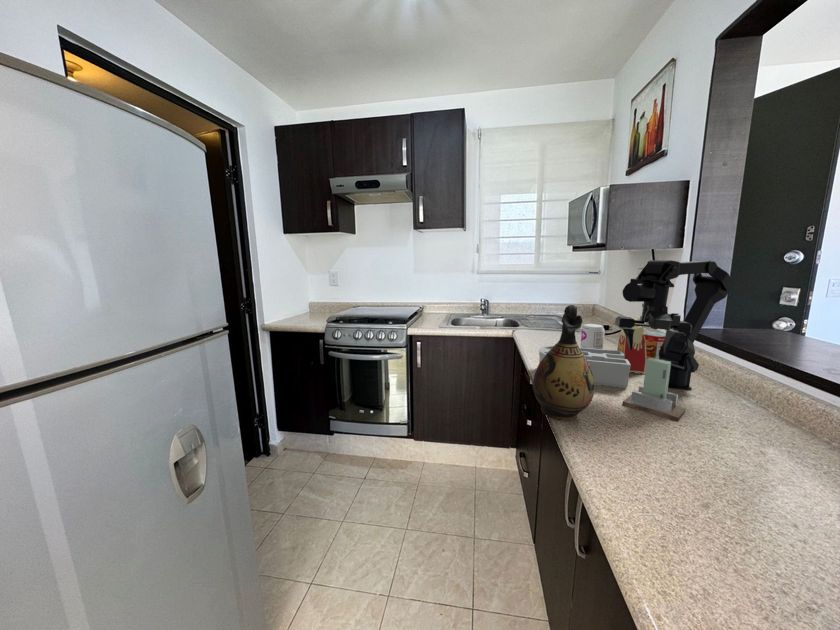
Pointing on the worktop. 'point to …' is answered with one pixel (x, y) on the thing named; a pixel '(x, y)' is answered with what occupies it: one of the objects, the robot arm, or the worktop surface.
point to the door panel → (656, 377)
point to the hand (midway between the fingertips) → (647, 351)
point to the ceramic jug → (564, 374)
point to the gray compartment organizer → (603, 365)
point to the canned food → (653, 343)
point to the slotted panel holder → (655, 404)
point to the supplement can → (592, 336)
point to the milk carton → (634, 350)
